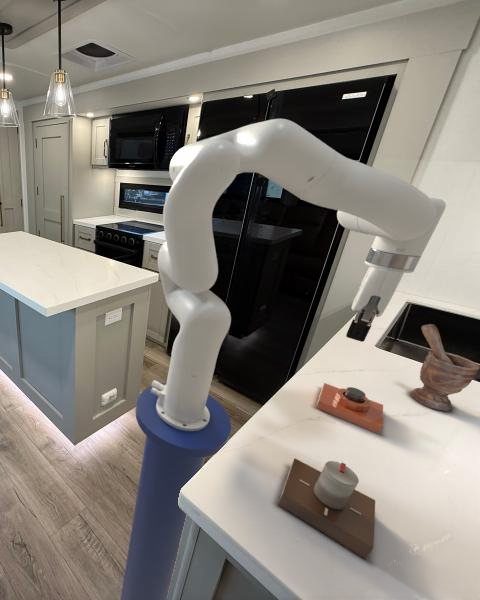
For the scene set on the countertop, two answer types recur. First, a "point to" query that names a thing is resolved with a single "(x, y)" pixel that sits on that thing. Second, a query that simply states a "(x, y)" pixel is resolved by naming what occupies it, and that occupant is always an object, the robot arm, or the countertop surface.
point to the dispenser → (351, 408)
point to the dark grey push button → (354, 394)
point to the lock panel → (330, 510)
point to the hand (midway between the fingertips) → (354, 338)
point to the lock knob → (335, 484)
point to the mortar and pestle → (442, 373)
